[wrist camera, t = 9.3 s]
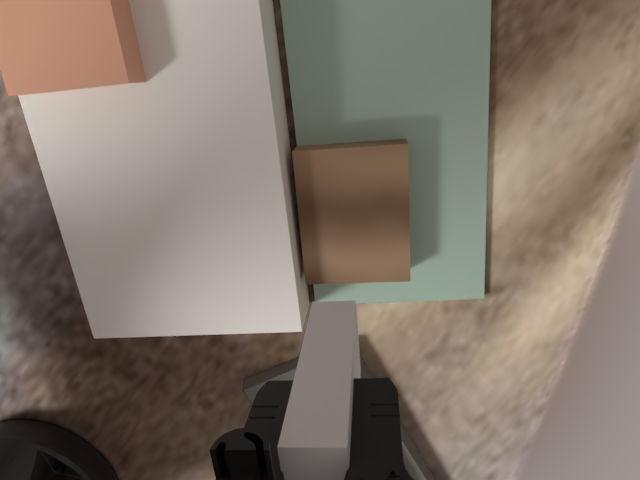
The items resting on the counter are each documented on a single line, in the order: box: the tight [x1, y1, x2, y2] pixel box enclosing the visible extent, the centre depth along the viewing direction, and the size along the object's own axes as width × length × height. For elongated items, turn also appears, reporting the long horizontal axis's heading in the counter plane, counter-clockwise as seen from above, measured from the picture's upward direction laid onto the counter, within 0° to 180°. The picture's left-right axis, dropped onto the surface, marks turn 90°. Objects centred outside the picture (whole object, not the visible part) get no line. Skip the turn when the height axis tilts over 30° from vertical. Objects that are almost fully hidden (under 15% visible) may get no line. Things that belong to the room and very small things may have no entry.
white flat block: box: [19, 0, 310, 339], centre depth 29 cm, size 28×15×4 cm, turn 6°
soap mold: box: [243, 356, 436, 480], centre depth 38 cm, size 10×20×4 cm, turn 29°
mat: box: [280, 0, 491, 304], centre depth 28 cm, size 28×12×1 cm, turn 6°
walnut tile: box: [292, 139, 410, 284], centre depth 30 cm, size 9×7×2 cm
